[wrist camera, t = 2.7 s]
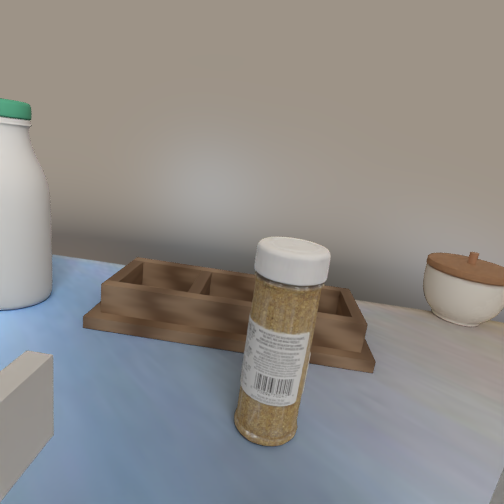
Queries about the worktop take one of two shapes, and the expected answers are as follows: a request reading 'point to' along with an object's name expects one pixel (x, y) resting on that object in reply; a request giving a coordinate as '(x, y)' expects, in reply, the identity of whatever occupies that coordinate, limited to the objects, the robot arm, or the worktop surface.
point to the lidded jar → (463, 288)
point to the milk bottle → (22, 213)
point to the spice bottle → (279, 337)
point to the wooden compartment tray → (218, 311)
